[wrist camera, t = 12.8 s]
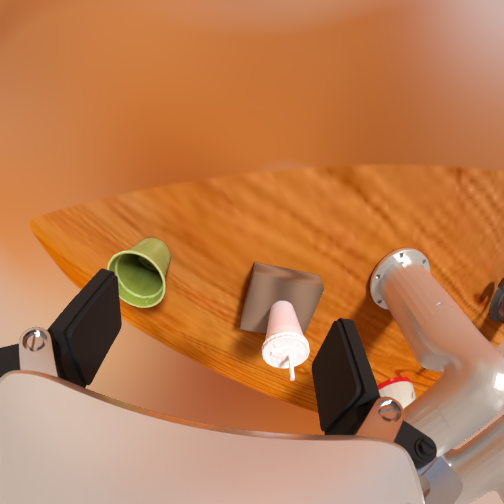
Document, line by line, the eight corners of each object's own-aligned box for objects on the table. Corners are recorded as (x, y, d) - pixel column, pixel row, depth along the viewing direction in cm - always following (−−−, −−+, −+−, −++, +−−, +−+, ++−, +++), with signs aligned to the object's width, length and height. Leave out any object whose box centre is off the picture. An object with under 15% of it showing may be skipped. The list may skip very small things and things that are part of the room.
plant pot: (188, 242, 43) (173, 269, 35) (171, 286, 47) (156, 317, 39) (137, 218, 41) (113, 240, 33) (124, 264, 45) (102, 291, 37)
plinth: (319, 275, 45) (324, 288, 41) (299, 324, 49) (301, 339, 46) (254, 261, 44) (253, 274, 40) (241, 314, 49) (239, 329, 45)
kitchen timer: (369, 411, 64) (380, 452, 51) (360, 391, 60) (372, 439, 46) (412, 392, 61) (428, 431, 48) (408, 369, 56) (428, 414, 43)
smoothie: (298, 326, 44) (307, 393, 32) (259, 323, 44) (258, 392, 32) (305, 294, 42) (320, 362, 29) (263, 291, 42) (264, 360, 29)
